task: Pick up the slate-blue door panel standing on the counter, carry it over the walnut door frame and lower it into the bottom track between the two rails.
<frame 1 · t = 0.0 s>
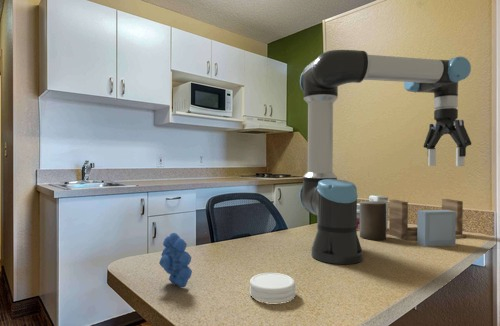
hand: (445, 166, 118), 28 cm above the table, tool pointing down, fingers open, 13 cm apart
door panel: (436, 244, 113), on the table
pillar candle: (372, 237, 123), on the table
grapes: (172, 286, 74), on the table
syrup box: (378, 229, 139), on the table
white round jar: (272, 296, 69), on the table
pill bottle: (359, 229, 137), on the table
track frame: (425, 235, 127), on the table
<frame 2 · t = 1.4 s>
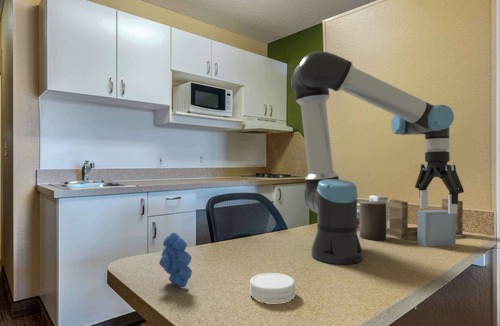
hand: (437, 210, 113), 12 cm above the table, tool pointing down, fingers open, 13 cm apart
nothing on the table moved.
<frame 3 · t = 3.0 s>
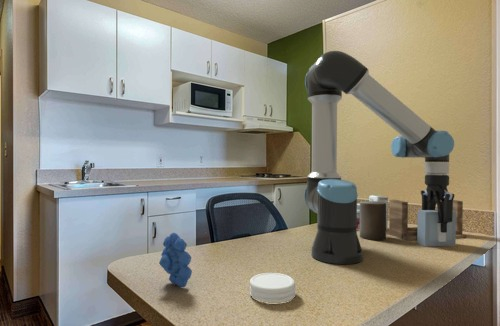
hand: (436, 239, 113), 2 cm above the table, tool pointing down, fingers closed on door panel, 4 cm apart
door panel: (436, 244, 113), on the table, touching gripper
everything else where it was.
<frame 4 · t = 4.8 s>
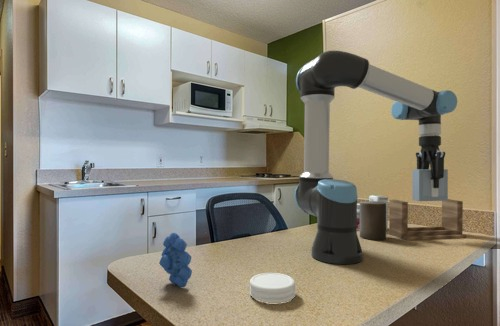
hand: (429, 195, 123), 16 cm above the table, tool pointing down, fingers closed on door panel, 4 cm apart
door panel: (429, 200, 123), point 15 cm above the table, touching gripper
everything else where it was.
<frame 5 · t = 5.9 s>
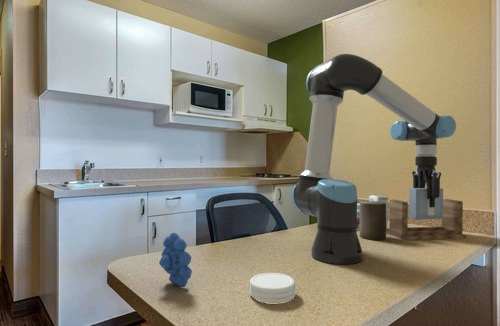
hand: (425, 214, 127), 9 cm above the table, tool pointing down, fingers closed on door panel, 4 cm apart
door panel: (425, 218, 127), point 7 cm above the table, touching gripper
everything else where it was.
when the fingers open (5 cm above the table, at t = 6.8 s): door panel drops 2 cm, resting on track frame.
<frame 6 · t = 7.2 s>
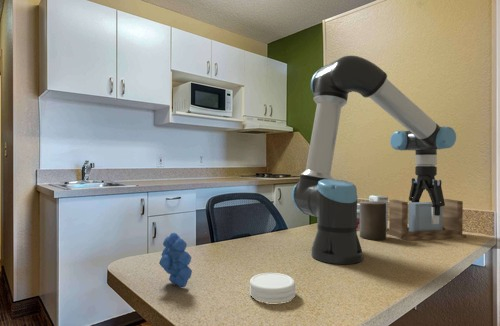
hand: (425, 221, 127), 6 cm above the table, tool pointing down, fingers open, 10 cm apart
door panel: (425, 232, 127), point 1 cm above the table, touching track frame
everything else where it was.
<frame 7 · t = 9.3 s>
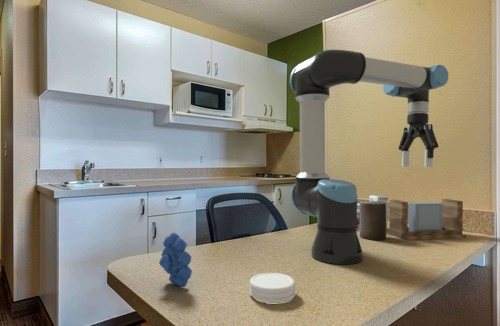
hand: (416, 166, 127), 27 cm above the table, tool pointing down, fingers open, 13 cm apart
nothing on the table moved.
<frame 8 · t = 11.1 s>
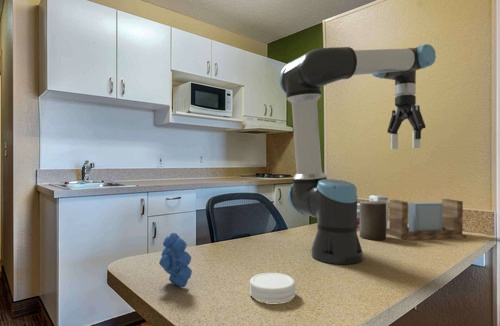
hand: (404, 148, 127), 35 cm above the table, tool pointing down, fingers open, 13 cm apart
nothing on the table moved.
at the end: door panel inside the target area on the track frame (0.0 cm from its centre), point 1.0 cm above the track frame's base; door panel tilted 0°; the gripper is holding nothing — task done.
